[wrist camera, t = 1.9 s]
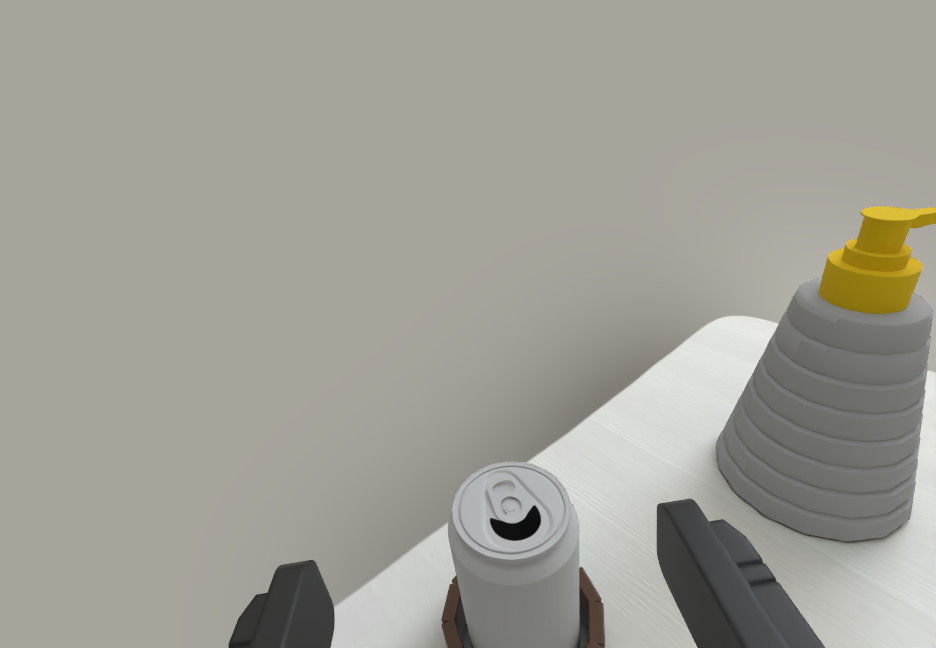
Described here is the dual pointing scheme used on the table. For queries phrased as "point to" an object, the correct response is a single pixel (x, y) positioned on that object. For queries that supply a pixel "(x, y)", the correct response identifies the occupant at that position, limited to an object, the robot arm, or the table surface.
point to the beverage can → (516, 558)
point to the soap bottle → (840, 393)
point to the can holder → (588, 611)
